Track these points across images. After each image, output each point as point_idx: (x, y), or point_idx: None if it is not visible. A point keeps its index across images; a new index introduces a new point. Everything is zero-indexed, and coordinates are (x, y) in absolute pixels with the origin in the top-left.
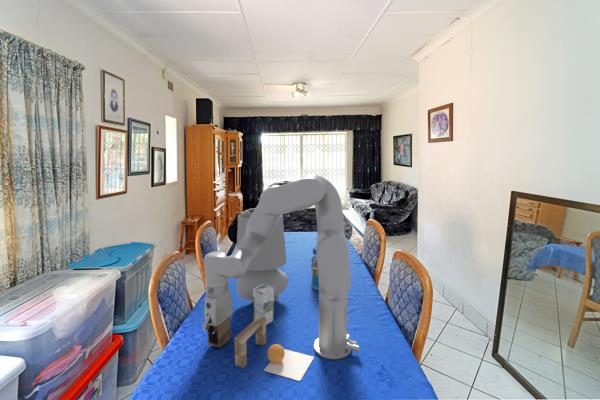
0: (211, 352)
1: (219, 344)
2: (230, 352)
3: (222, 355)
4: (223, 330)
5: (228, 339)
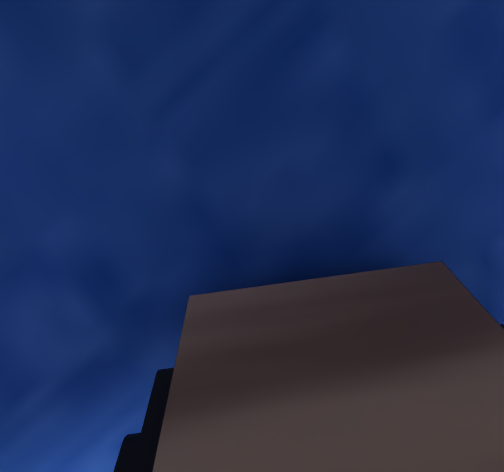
0: (492, 304)
1: (464, 290)
2: (394, 97)
3: (495, 147)
4: (413, 439)
5: (237, 293)
